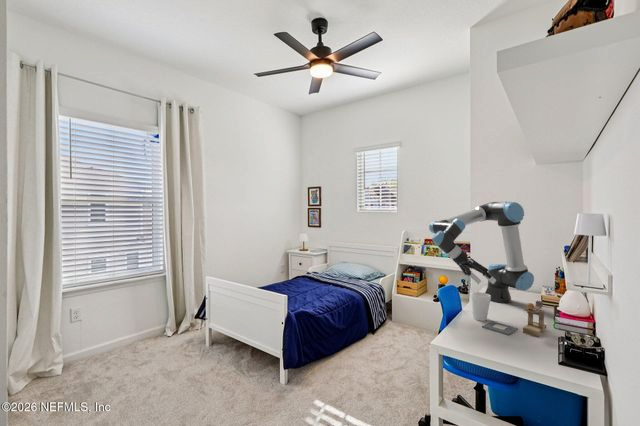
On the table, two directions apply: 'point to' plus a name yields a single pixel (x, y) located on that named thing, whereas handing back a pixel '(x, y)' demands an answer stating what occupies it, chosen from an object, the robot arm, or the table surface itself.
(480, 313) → the foam cup
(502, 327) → the mat
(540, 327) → the catapult
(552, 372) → the table surface
